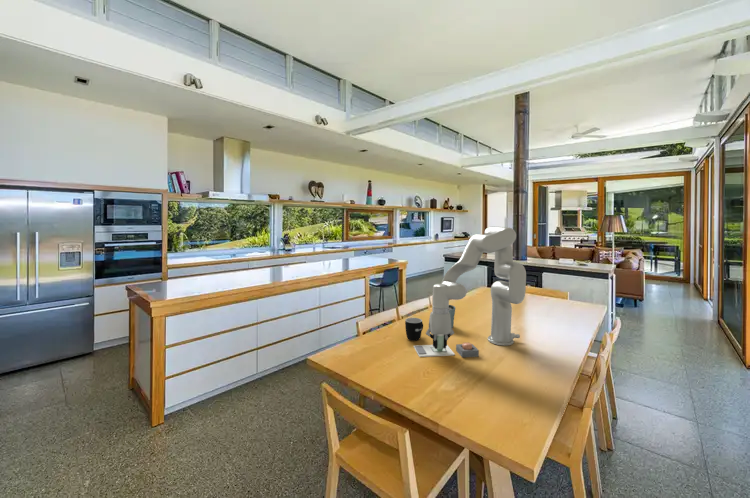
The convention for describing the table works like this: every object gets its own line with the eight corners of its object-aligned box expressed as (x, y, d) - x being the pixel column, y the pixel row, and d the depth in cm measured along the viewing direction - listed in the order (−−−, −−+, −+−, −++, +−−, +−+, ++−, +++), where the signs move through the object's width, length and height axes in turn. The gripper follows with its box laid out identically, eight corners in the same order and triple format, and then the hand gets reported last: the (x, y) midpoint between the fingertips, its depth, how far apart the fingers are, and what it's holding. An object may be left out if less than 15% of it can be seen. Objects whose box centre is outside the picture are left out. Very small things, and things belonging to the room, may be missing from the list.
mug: (414, 343, 171) (414, 324, 170) (401, 338, 178) (401, 320, 177) (429, 337, 180) (429, 319, 178) (416, 333, 186) (416, 315, 185)
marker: (442, 348, 162) (442, 331, 161) (444, 351, 159) (445, 334, 158) (434, 348, 162) (435, 331, 161) (437, 351, 158) (437, 334, 157)
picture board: (446, 345, 169) (446, 343, 169) (454, 355, 157) (454, 353, 157) (413, 346, 167) (413, 344, 167) (419, 356, 155) (419, 354, 155)
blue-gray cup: (441, 322, 204) (442, 303, 203) (457, 325, 198) (458, 306, 197) (434, 327, 196) (434, 307, 194) (450, 330, 190) (451, 310, 188)
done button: (469, 348, 161) (470, 342, 161) (473, 352, 157) (473, 345, 157) (461, 348, 161) (461, 342, 160) (464, 352, 156) (464, 346, 156)
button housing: (471, 349, 163) (472, 343, 163) (478, 356, 155) (478, 350, 155) (456, 350, 162) (456, 344, 162) (461, 357, 155) (462, 351, 154)
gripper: (454, 307, 163) (454, 343, 165) (421, 308, 161) (420, 345, 163) (460, 311, 155) (459, 350, 157) (425, 313, 154) (424, 351, 156)
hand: (439, 347), depth 160 cm, fingers closed on marker, 3 cm apart
